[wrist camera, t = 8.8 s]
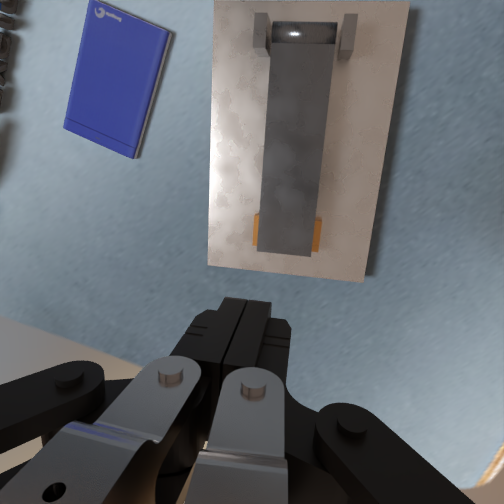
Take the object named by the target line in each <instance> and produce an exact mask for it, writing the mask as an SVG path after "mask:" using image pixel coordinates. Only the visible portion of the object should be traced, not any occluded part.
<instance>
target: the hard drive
mask: <svg viewBox="0 0 504 504" xmlns="http://www.w3.org/2000/svg"><path fill="white" fill-rule="evenodd" d="M171 36H172V34H171V33H170V32H168V31H167V30H164V29H162V28H160V27H157V26H155V25H153V24H151V23H148V22H146V21H144V20H141V19H139V18H137V17H134V16H132V15H130V14H127V13H125V12H123V11H120V10H118V9H116V8H113V7H111V6H109V5H107V4H104V3H102V2H100V1H97V0H89V4H88V8H87V14H86V19H85V24H84V28H83V33H82V38H81V43H80V48H79V53H78V58H77V63H76V68H75V72H74V77H73V82H72V87H71V92H70V97H69V102H68V107H67V112H66V117H65V121H64V126H63V128H64V129H66V130H68V131H70V132H73V133H75V134H77V135H79V136H82V137H84V138H86V139H88V140H90V141H93V142H95V143H97V144H100V145H102V146H104V147H106V148H108V149H111V150H113V151H115V152H117V153H120V154H122V155H124V156H126V157H129V158H131V159H137V155H138V152H139V148H140V145H141V142H142V138H143V135H144V131H145V128H146V124H147V121H148V117H149V114H150V110H151V107H152V103H153V100H154V96H155V93H156V89H157V86H158V82H159V79H160V75H161V71H162V68H163V64H164V61H165V57H166V54H167V50H168V47H169V43H170V40H171Z"/></svg>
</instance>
